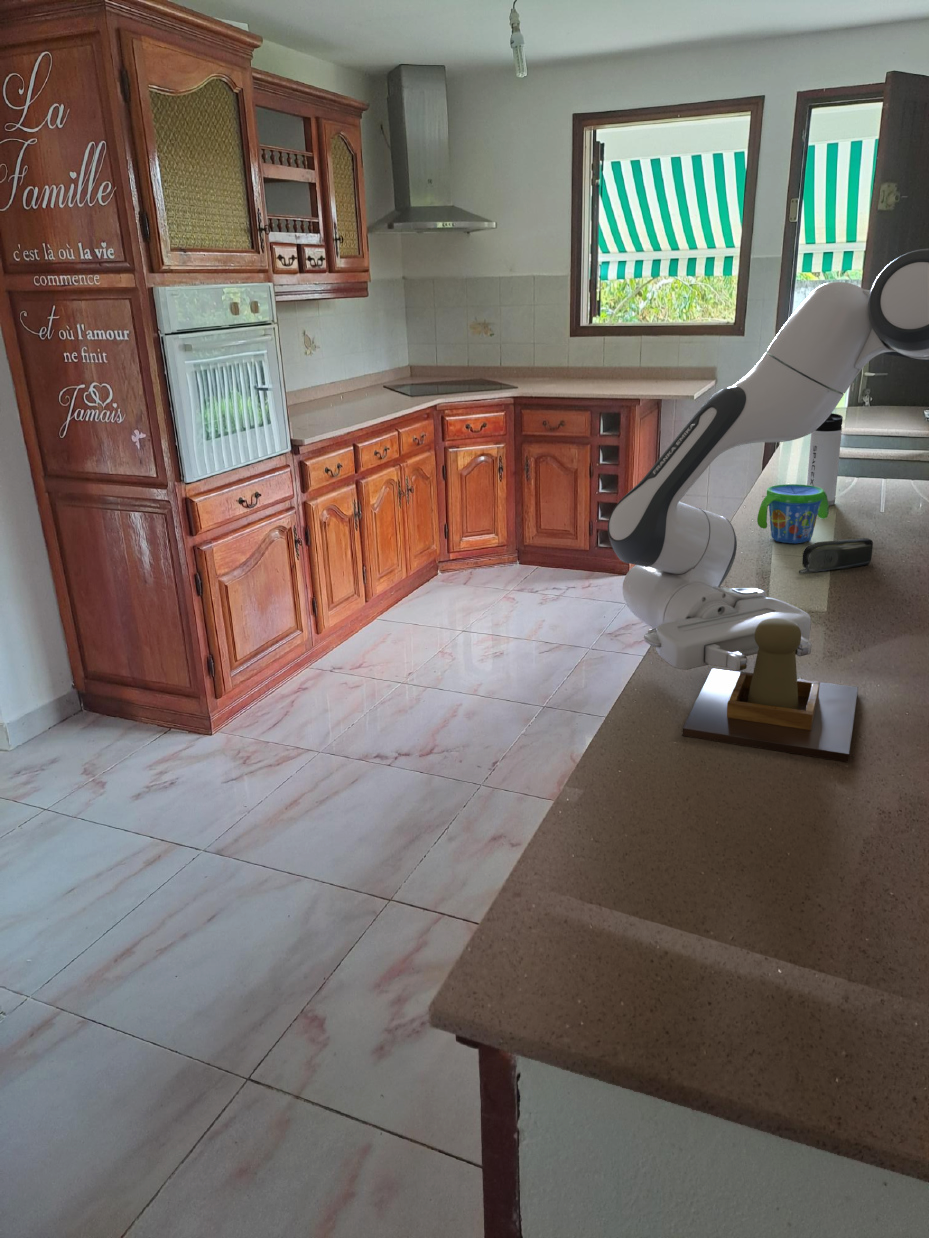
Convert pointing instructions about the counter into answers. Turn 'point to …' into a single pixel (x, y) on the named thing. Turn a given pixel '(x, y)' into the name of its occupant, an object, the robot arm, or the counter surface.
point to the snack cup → (793, 511)
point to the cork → (775, 664)
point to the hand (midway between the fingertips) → (774, 657)
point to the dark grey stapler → (837, 555)
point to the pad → (775, 717)
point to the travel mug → (825, 456)
